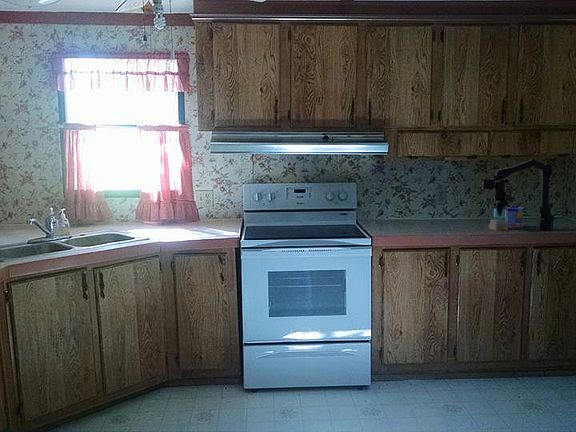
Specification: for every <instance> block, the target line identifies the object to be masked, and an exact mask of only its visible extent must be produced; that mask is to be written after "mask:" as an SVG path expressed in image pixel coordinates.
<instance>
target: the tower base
mask: <svg viewBox="0 0 576 432" xmlns="http://www.w3.org/2000/svg"><path fill="white" fill-rule="evenodd" d="M488 229H490V230H492V231H496V232H497V231H509V227H508V226H494V225H491V224H490V223H489V224H488Z"/></svg>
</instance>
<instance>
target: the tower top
mask: <svg viewBox="0 0 576 432" xmlns="http://www.w3.org/2000/svg"><path fill="white" fill-rule="evenodd" d="M489 224H491V225H494V226H507V221H506V220H505V219H500V218H495V219H493V218H492V219H490V223H489Z"/></svg>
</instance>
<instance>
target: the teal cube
mask: <svg viewBox="0 0 576 432" xmlns="http://www.w3.org/2000/svg"><path fill="white" fill-rule="evenodd" d="M493 217H494V218H495V219H500V218H503V219H505V209H504V208H503V211H502V214H501V216H499V215H498V212H497V209H496V208H494V207H493Z"/></svg>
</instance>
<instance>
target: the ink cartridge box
mask: <svg viewBox="0 0 576 432" xmlns="http://www.w3.org/2000/svg"><path fill="white" fill-rule="evenodd" d="M504 208H505V209H504V220H506V221H507V226H508V228H523V226H524V225H523V224H524V213H525V211H524V210H525V208H524V207H522V206H519V204H517V203H516V204H515V203H513V204H512V205H511V206H505V207H504Z"/></svg>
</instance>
